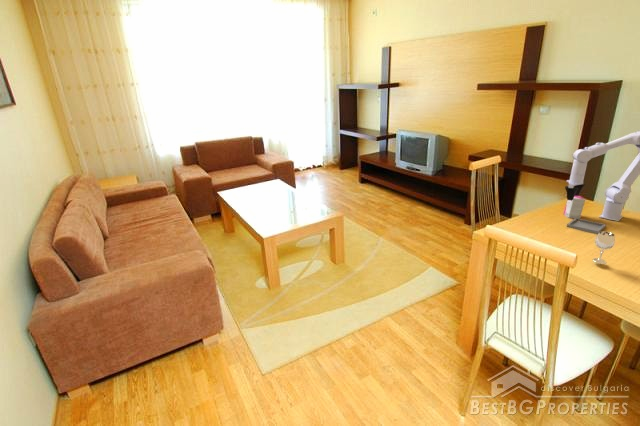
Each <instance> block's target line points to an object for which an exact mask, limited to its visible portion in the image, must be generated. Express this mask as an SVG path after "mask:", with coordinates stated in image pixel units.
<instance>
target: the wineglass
mask: <svg viewBox="0 0 640 426" xmlns="http://www.w3.org/2000/svg"><path fill="white" fill-rule="evenodd" d="M615 238H616V237H615V234H614V233H613V232H609V231H601V232H599V233H598V234H596V237H595V240H594V243H595V246H596V247H597V248H599V249H600V253H599V257H598V258H597V257H596V258H595V257H594V258H592V262H595V263H597V264H600V265H601V264H603V265H604V264H607V261H606V260H605V259H602V255H603V253H604V251H605V250H610V249H612V248H613V247H614V245H615Z"/></svg>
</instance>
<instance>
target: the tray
mask: <svg viewBox="0 0 640 426" xmlns="http://www.w3.org/2000/svg"><path fill="white" fill-rule="evenodd" d="M606 225H607V224H606V223H602V222H596V221H591V220H587V219H582V218H572V220H571V221H569V222H568V223H567V224H566V228H570V229H574V230H577V231H583V232H586V233H591V234H594V235H595V234H596V235H598V233H599V232H603V230H604V229H605V228H606Z"/></svg>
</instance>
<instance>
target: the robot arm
mask: <svg viewBox="0 0 640 426" xmlns="http://www.w3.org/2000/svg"><path fill="white" fill-rule="evenodd" d="M626 145H634V146H636V148H637V150H638V154H637V155H636V156H635V158H634V159H633V161H632V162H631V163H630V164H629V166H628V168H627V169H626V170H625V171H624V173H623V174H622V175H621V176H620V178H619V179H618V180H617V181H615V182H614V183H612V184H611V185H610V186H609V187H608V188H606V190H605V191H604V195H605V198H606V199H605V201H604V206H603V210H602V214H600V215H599V216H598V218H601V219H604V220H611V221H616V222H619V221H620V220H621V219H623V217H624V215H622V214H623V213H622V212H623V208H624V204H625V203H626V201H628V200H629V197H630V194H631V193H632V185H633V184H634V182H635V181H636V180H637V179H638V177H640V130H638V131H635V132H630V133H629V134H626V135H623V136H622V137H619V138H617V139H614V140H611V141H609V142H607V143H604V142H596V143H595V144H593V145H590V146H585V147H584V148H580V149H576V150H575V151H574V152H573V154H572V158H573V162H572V167H571V171H570V176H569V179H567V180H566V183H568V185H565V187H564V190H565V192H566V200H571V201H572V200H573V198H574V196H580V195H579V194H580V193H581V191H582V189H583V188H584V186H586V184H585V183H584V179H585V174H586V170H587V166H588V162H589V161H590V160H592V159H594V158H596V157H598V156H599V157H600V156H602V155H604V154H607V153H608V151H609V150H612V149H615V148H619V147H623V146H626Z"/></svg>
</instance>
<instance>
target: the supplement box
mask: <svg viewBox="0 0 640 426" xmlns="http://www.w3.org/2000/svg"><path fill="white" fill-rule="evenodd" d="M566 200H567V199H566ZM586 200H587V199H586V198H584V197H583V196H581V195H578V196H574V198H573V200H572V201H571V200H567V201H566V204H565V207H564V210H563V215H564V216H565V217H566V218H567V219H575V218H578V219H581V216H582V212H583V209H584V205H585V202H586Z"/></svg>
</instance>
